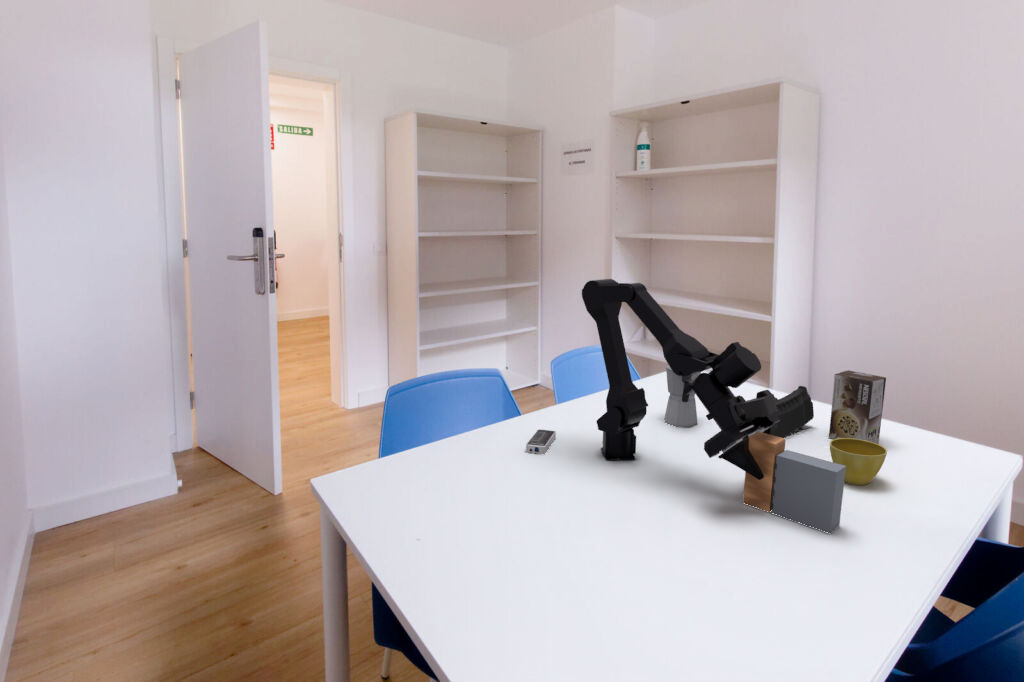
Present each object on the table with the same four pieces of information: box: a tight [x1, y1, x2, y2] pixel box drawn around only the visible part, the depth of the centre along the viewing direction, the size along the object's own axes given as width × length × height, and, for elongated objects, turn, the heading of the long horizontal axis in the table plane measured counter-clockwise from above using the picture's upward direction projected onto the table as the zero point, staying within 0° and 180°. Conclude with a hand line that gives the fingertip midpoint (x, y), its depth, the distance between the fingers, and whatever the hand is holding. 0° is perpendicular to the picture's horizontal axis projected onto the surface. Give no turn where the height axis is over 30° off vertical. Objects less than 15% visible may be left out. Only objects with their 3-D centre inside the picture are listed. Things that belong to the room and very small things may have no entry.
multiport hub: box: [525, 429, 557, 455], centre depth 144 cm, size 4×11×2 cm, turn 163°
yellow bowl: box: [829, 438, 888, 486], centre depth 126 cm, size 10×10×7 cm
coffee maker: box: [663, 365, 702, 429], centre depth 159 cm, size 15×9×18 cm, turn 172°
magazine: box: [742, 385, 815, 440], centre depth 149 cm, size 17×3×30 cm
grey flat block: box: [770, 449, 846, 534], centre depth 108 cm, size 10×4×11 cm, turn 43°
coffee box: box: [828, 370, 887, 445], centre depth 147 cm, size 9×6×16 cm
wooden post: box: [742, 432, 787, 513], centre depth 114 cm, size 5×4×13 cm
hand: (771, 473), depth 113 cm, fingers open, 7 cm apart
